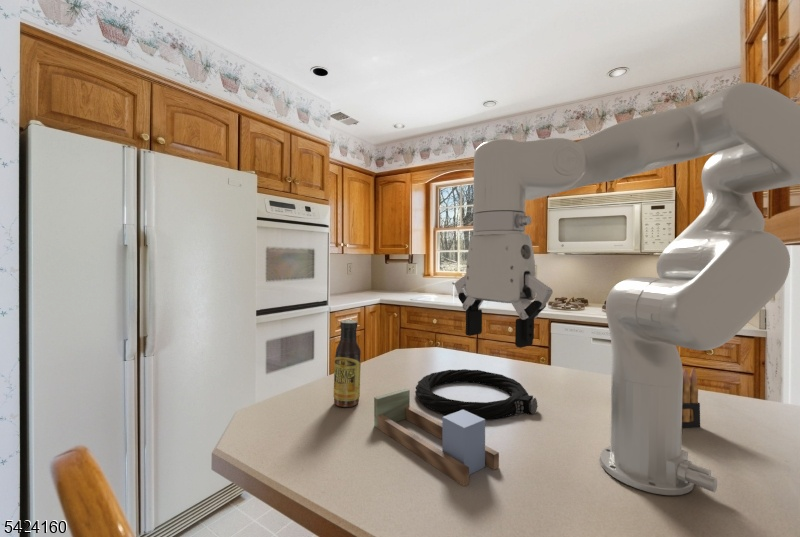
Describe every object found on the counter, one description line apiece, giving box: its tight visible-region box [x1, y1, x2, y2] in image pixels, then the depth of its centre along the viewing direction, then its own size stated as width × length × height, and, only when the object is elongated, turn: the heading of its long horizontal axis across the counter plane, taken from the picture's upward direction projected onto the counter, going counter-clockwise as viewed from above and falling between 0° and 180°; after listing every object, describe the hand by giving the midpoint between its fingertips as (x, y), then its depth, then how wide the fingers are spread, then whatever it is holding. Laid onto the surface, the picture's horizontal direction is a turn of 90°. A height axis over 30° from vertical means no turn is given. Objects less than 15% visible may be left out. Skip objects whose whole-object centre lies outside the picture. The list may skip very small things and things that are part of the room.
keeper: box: [441, 410, 486, 476], centre depth 61 cm, size 5×5×8 cm
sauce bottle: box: [333, 319, 362, 408], centre depth 87 cm, size 6×6×20 cm
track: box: [373, 388, 500, 487], centre depth 68 cm, size 25×8×6 cm, turn 37°
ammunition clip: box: [682, 368, 701, 429], centre depth 75 cm, size 11×2×12 cm, turn 93°
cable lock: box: [414, 368, 539, 420], centre depth 91 cm, size 28×4×30 cm
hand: (497, 339), depth 55 cm, fingers open, 9 cm apart
